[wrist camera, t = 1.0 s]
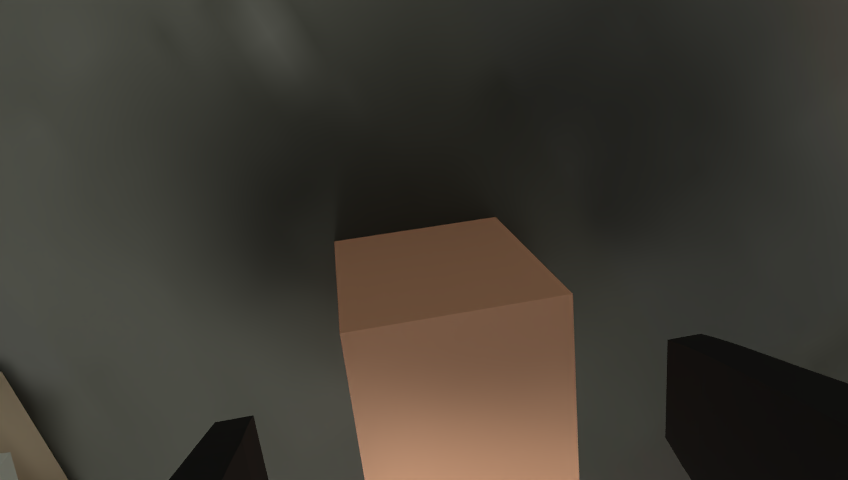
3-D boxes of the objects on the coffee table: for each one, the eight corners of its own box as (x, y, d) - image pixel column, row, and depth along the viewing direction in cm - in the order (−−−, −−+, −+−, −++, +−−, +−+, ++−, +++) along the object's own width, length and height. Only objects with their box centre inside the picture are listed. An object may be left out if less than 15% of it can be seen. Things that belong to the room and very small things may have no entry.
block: (505, 358, 16) (579, 484, 12) (357, 384, 16) (373, 526, 11) (495, 216, 15) (572, 293, 10) (334, 241, 15) (339, 333, 10)
